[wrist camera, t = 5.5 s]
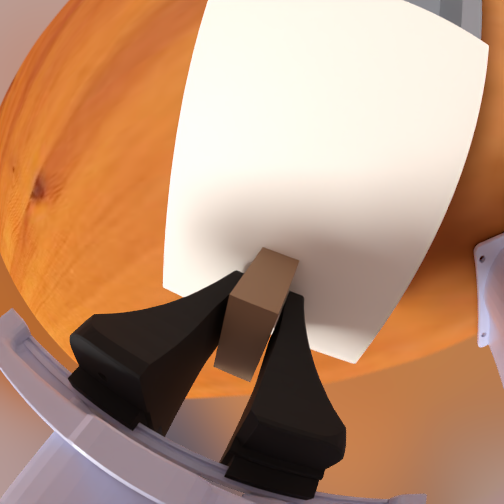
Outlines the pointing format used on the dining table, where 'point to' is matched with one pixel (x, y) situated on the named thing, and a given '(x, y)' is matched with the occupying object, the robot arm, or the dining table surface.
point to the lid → (316, 163)
